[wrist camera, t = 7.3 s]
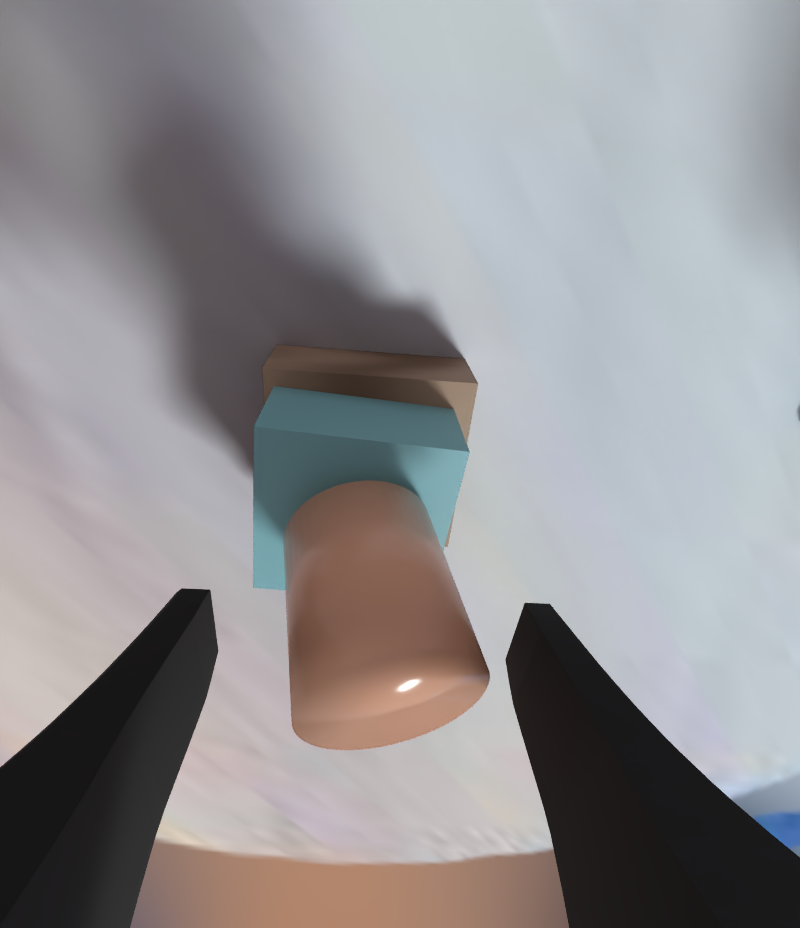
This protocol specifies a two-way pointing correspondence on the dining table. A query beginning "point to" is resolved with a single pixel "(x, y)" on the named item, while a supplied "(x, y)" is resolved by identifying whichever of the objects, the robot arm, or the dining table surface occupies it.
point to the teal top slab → (346, 460)
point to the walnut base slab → (376, 378)
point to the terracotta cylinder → (374, 621)
